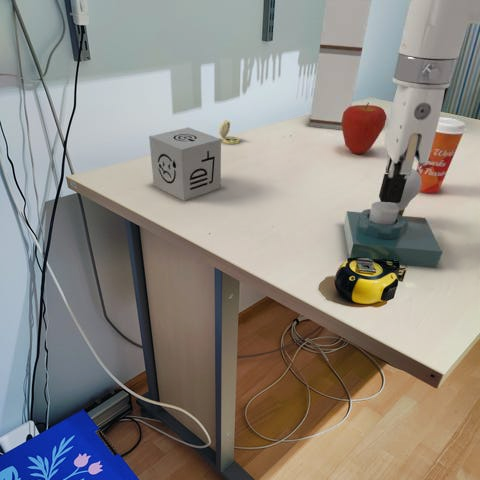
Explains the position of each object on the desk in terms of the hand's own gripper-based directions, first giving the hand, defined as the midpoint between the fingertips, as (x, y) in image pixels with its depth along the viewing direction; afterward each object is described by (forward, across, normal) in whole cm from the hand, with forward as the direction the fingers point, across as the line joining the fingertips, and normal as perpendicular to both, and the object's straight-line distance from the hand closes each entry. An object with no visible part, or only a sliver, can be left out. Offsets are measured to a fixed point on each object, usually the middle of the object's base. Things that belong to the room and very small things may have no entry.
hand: (389, 200), depth 68 cm
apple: (+9, +50, -2) cm, 51 cm away
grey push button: (+3, 0, 0) cm, 3 cm away
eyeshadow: (+8, +51, +32) cm, 61 cm away
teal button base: (+8, 0, -2) cm, 8 cm away
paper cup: (+9, +28, -15) cm, 33 cm away
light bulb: (+8, +10, -4) cm, 14 cm away
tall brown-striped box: (+9, +76, +4) cm, 76 cm away
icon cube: (+8, +18, +37) cm, 42 cm away
